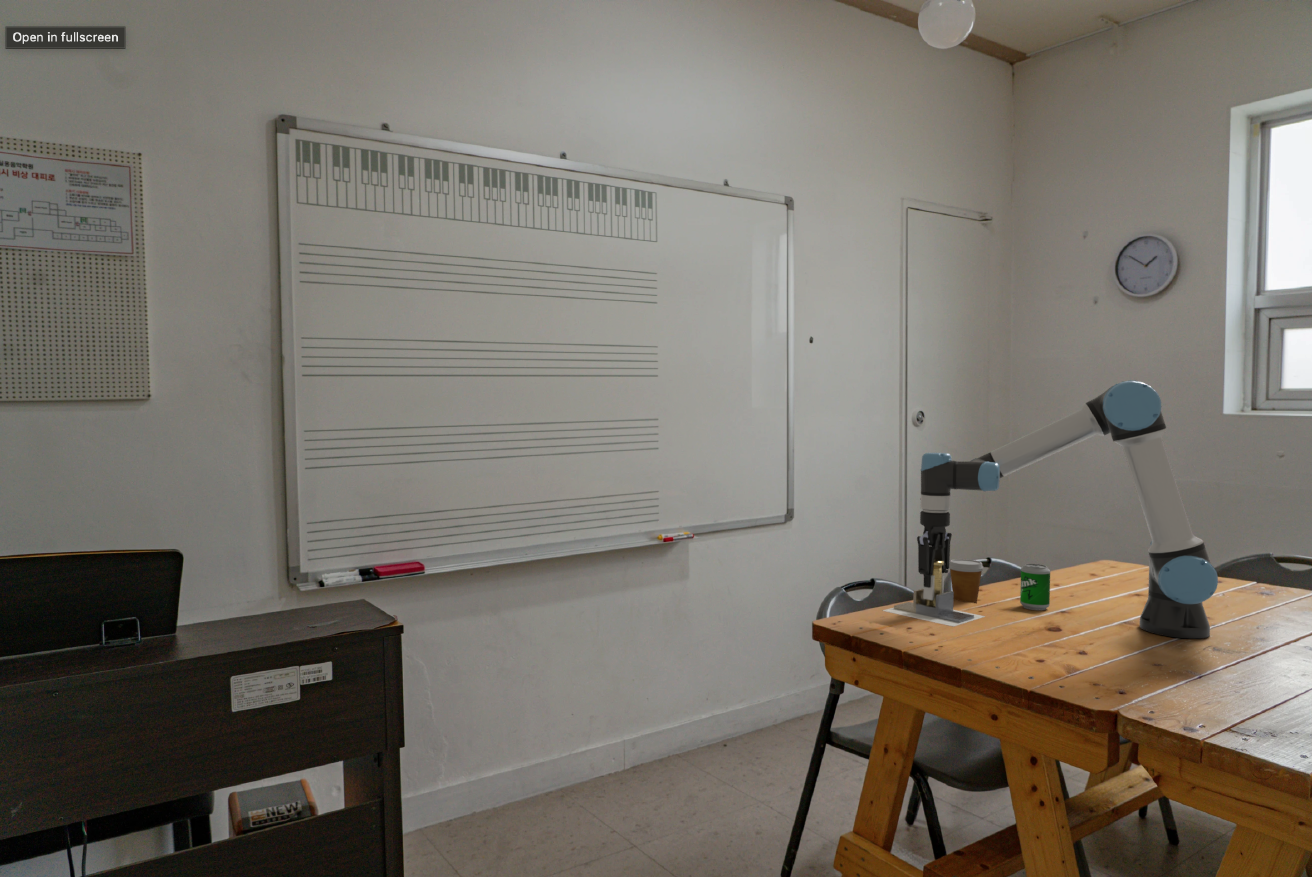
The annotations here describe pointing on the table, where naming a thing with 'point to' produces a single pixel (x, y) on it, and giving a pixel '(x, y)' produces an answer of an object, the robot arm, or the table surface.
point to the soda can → (1035, 587)
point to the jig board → (931, 619)
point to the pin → (936, 582)
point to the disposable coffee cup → (965, 579)
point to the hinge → (940, 611)
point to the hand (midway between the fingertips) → (933, 597)
